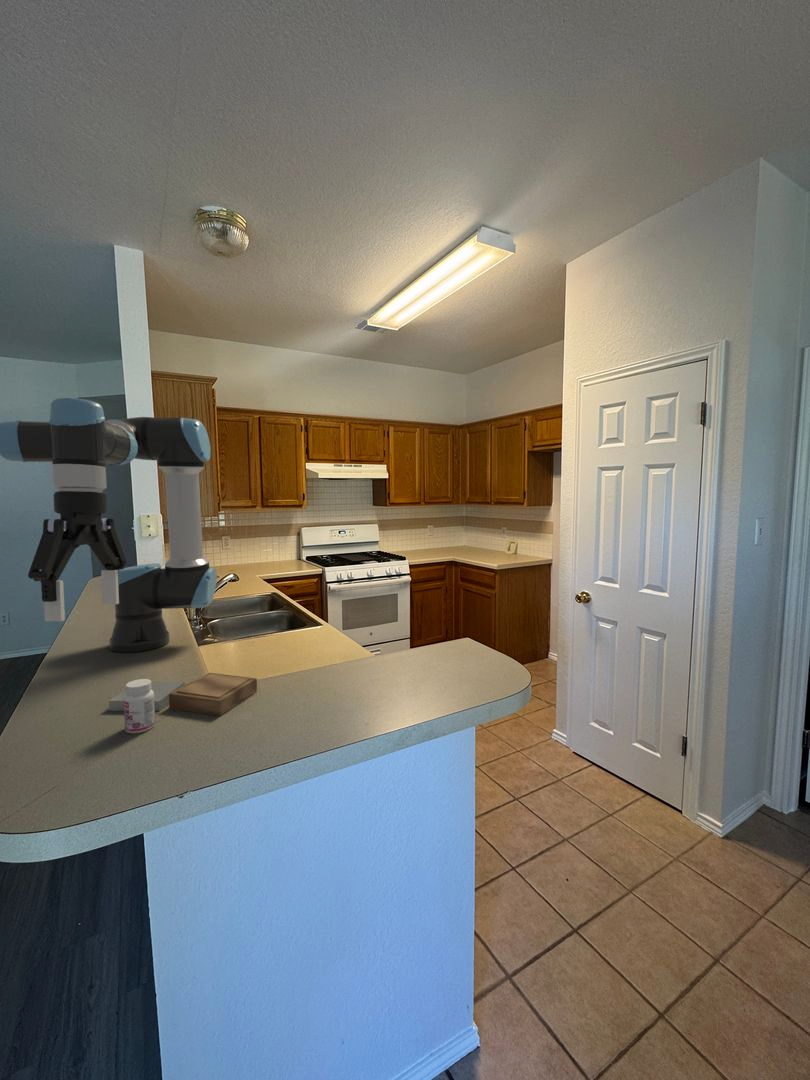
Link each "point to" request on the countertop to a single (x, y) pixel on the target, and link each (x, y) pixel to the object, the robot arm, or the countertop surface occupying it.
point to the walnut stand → (213, 694)
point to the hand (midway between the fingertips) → (85, 611)
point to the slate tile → (160, 695)
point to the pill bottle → (139, 706)
